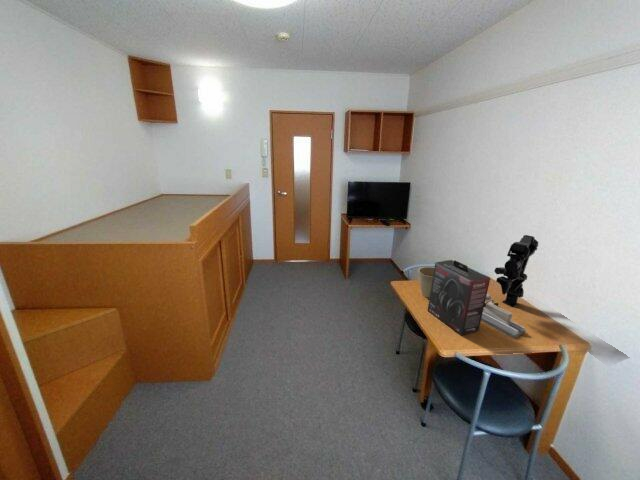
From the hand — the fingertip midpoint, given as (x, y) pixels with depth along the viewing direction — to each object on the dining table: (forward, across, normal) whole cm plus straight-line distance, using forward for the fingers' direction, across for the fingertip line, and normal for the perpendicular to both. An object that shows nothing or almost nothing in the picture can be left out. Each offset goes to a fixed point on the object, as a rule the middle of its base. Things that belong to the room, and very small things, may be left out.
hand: (508, 292), depth 156 cm
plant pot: (+13, +23, -33) cm, 42 cm away
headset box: (+13, +33, -8) cm, 36 cm away
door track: (+12, +14, +4) cm, 19 cm away
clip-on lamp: (+13, +6, -12) cm, 18 cm away
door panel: (+11, +14, +4) cm, 18 cm away
